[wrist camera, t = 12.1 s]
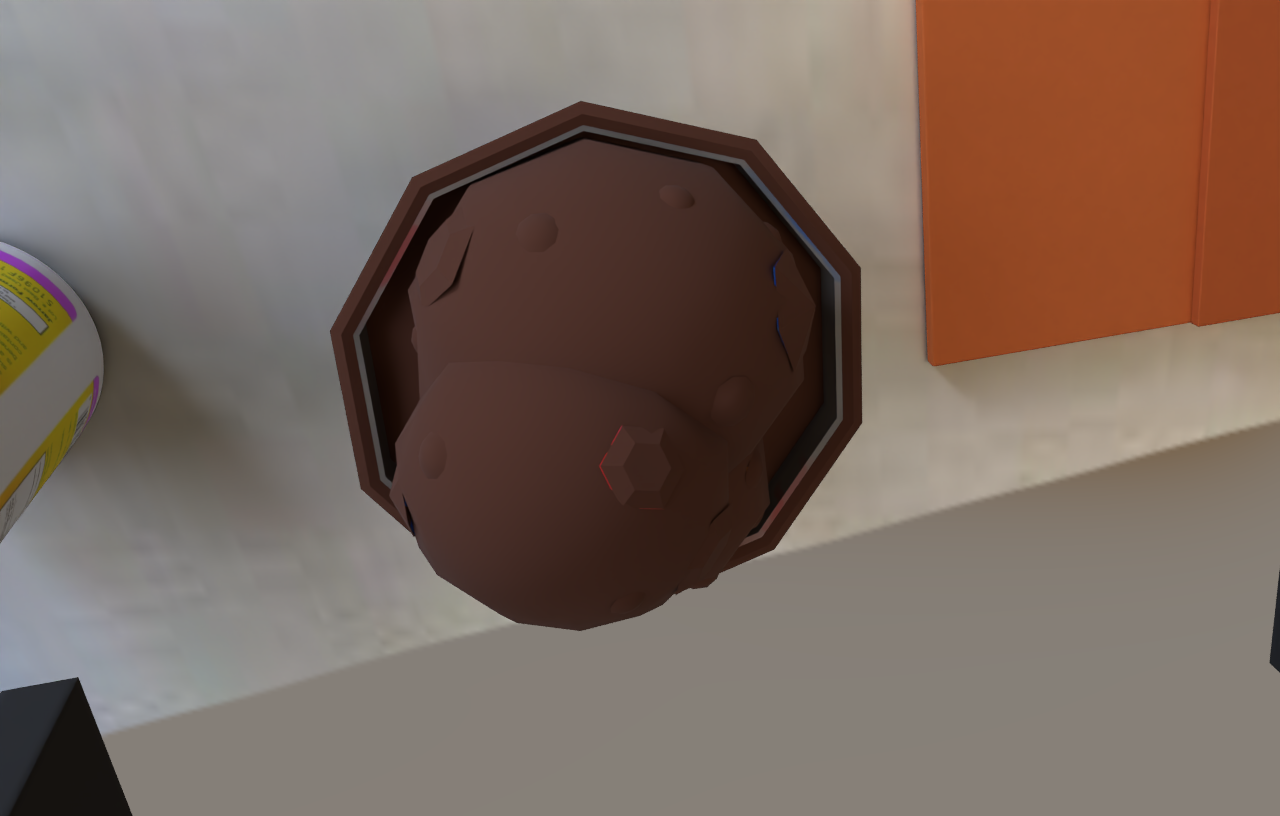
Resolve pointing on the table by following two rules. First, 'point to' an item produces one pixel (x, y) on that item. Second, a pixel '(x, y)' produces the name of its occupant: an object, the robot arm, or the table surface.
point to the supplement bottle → (41, 376)
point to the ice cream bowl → (600, 363)
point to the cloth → (1096, 168)
